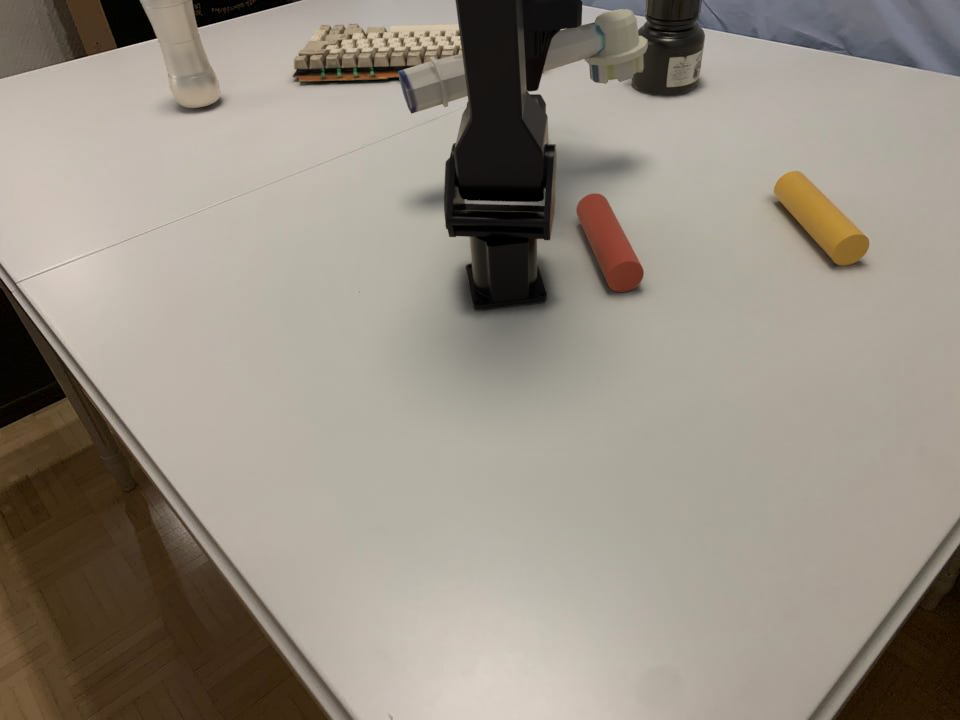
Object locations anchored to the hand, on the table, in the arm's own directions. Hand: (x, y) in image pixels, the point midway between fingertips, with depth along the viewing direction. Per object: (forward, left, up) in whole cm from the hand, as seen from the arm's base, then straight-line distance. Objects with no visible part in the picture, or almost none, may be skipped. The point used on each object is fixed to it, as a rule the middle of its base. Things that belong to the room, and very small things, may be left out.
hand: (527, 81), depth 71 cm
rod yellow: (-16, -25, -11) cm, 31 cm away
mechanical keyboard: (+43, +9, -11) cm, 45 cm away
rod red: (-16, -5, -11) cm, 20 cm away
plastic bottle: (+33, +41, -11) cm, 54 cm away
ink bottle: (+23, -23, -11) cm, 34 cm away
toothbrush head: (0, 0, -1) cm, 1 cm away
